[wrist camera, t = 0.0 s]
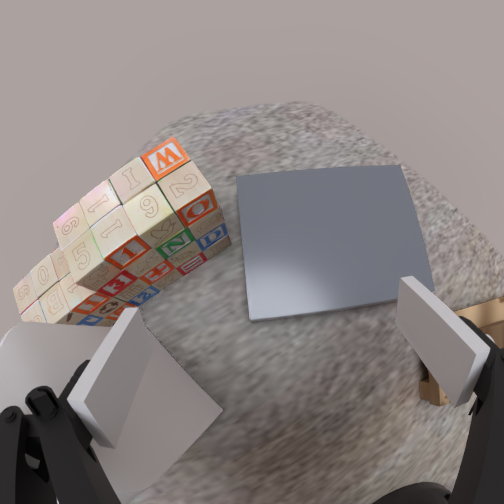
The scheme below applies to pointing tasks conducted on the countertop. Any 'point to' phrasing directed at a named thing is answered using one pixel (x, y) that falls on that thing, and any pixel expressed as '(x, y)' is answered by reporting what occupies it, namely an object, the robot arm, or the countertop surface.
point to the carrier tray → (478, 320)
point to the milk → (141, 412)
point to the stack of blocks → (126, 242)
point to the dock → (328, 240)
